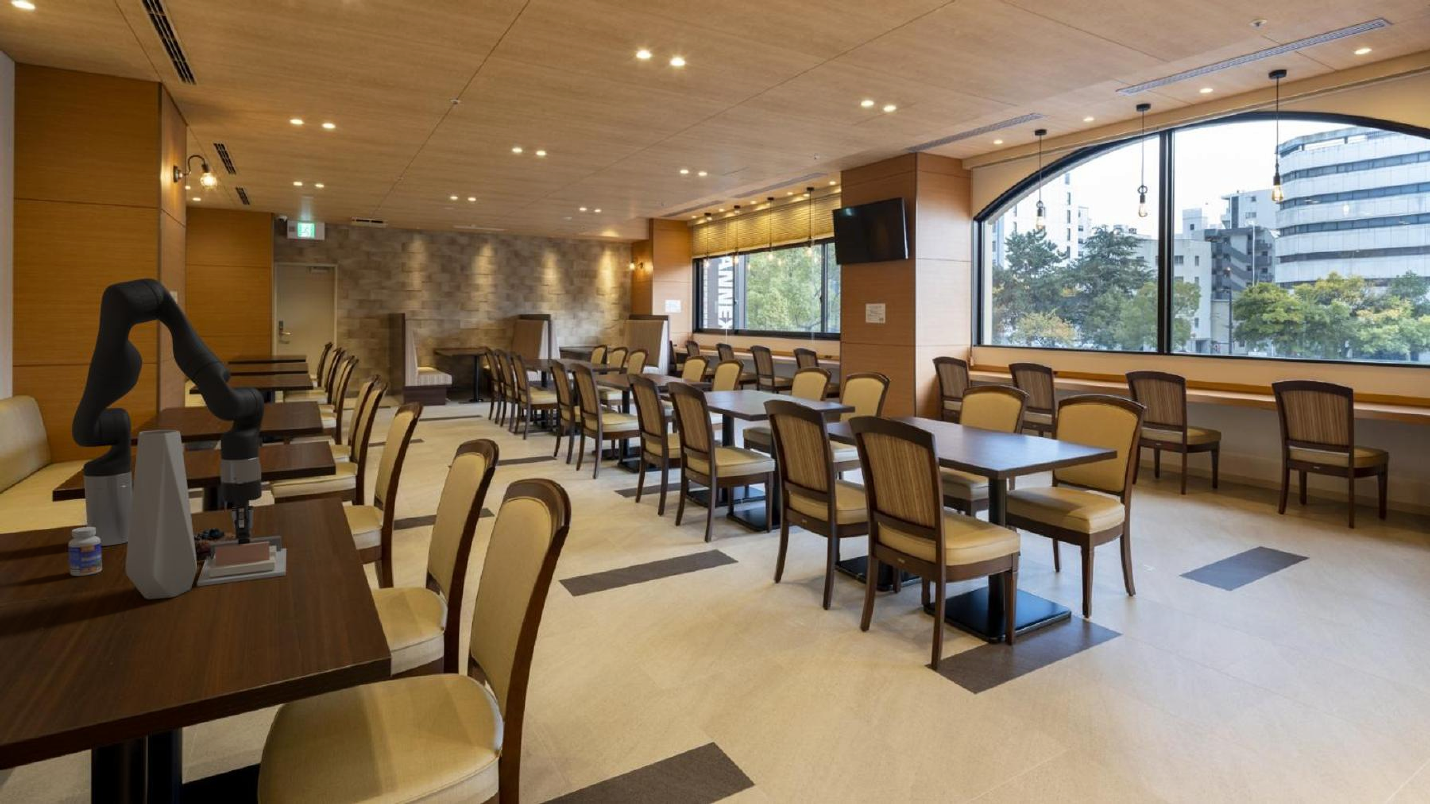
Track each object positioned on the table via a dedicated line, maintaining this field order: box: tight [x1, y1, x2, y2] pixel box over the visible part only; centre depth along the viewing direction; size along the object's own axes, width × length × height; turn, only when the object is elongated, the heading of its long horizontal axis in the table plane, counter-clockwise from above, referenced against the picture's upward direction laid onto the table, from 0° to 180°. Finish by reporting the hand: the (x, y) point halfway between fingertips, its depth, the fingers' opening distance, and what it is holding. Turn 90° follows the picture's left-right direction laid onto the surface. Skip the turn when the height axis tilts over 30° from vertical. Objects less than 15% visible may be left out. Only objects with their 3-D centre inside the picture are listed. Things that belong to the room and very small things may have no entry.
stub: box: [209, 541, 275, 577], centre depth 166 cm, size 5×12×5 cm, turn 119°
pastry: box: [194, 527, 237, 561], centre depth 182 cm, size 11×12×6 cm
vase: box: [125, 429, 198, 600], centre depth 153 cm, size 12×12×33 cm
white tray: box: [196, 535, 287, 587], centre depth 171 cm, size 20×16×4 cm
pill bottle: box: [68, 526, 103, 577], centre depth 166 cm, size 5×5×10 cm
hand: (244, 554), depth 169 cm, fingers closed
